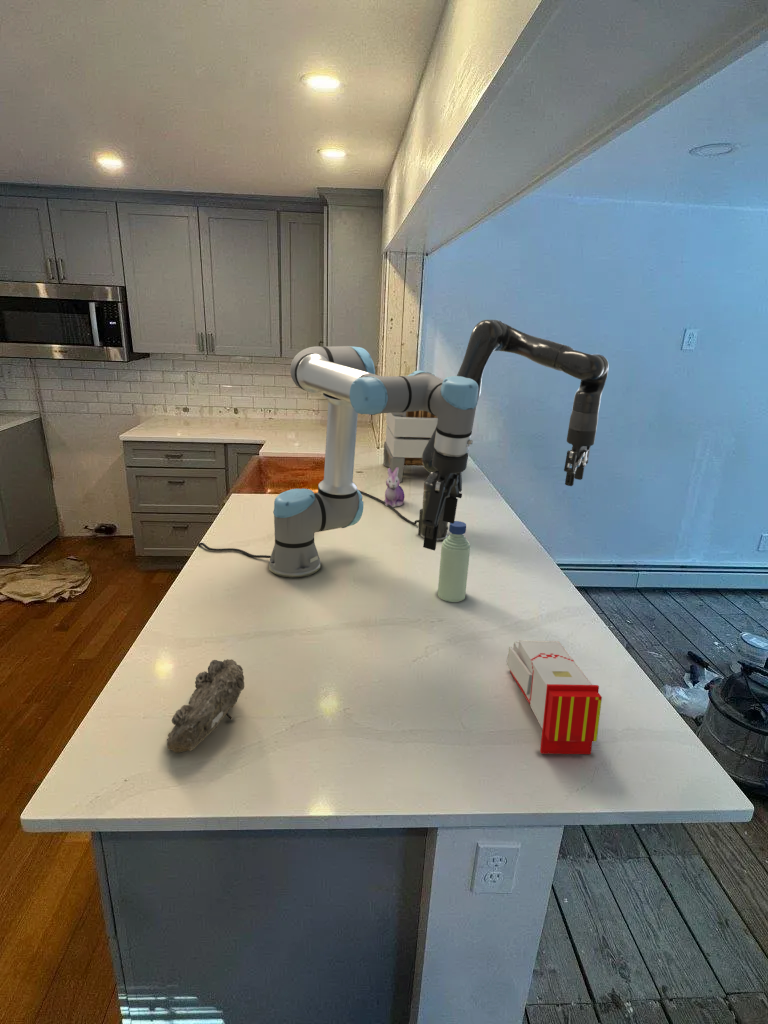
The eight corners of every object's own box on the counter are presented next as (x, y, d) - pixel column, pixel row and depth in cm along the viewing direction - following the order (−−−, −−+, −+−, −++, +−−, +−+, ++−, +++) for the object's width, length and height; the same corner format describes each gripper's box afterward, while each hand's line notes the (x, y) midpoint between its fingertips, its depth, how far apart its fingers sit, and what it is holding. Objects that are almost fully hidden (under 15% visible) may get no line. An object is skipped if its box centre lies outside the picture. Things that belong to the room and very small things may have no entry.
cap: (460, 527, 155) (461, 520, 154) (468, 533, 151) (469, 525, 150) (446, 529, 153) (446, 521, 152) (454, 535, 149) (454, 527, 148)
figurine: (389, 509, 224) (391, 472, 218) (377, 501, 232) (379, 465, 227) (410, 506, 228) (412, 470, 223) (398, 498, 236) (399, 463, 231)
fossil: (192, 660, 117) (244, 628, 112) (224, 691, 120) (276, 661, 115) (142, 746, 98) (202, 712, 93) (182, 779, 101) (242, 748, 96)
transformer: (382, 463, 289) (386, 382, 275) (445, 464, 293) (451, 384, 279) (390, 482, 257) (394, 392, 243) (460, 483, 261) (468, 394, 247)
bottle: (456, 587, 163) (463, 519, 156) (470, 599, 157) (477, 528, 149) (432, 591, 160) (438, 521, 153) (445, 603, 154) (452, 532, 147)
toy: (555, 623, 127) (611, 693, 98) (549, 678, 130) (602, 761, 101) (501, 622, 127) (542, 691, 98) (497, 677, 130) (535, 760, 100)
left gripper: (449, 476, 111) (436, 565, 121) (483, 436, 131) (469, 515, 141) (413, 467, 113) (404, 555, 123) (452, 429, 133) (441, 507, 144)
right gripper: (577, 422, 167) (568, 474, 173) (561, 428, 156) (552, 484, 162) (603, 425, 163) (593, 479, 169) (588, 433, 152) (578, 490, 158)
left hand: (439, 534), depth 132 cm, fingers open, 13 cm apart
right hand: (573, 482), depth 165 cm, fingers open, 8 cm apart
